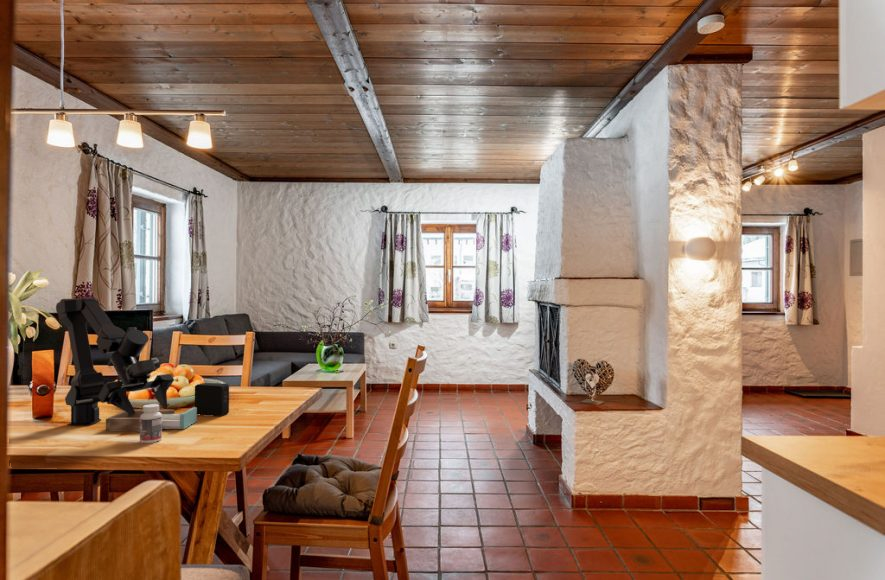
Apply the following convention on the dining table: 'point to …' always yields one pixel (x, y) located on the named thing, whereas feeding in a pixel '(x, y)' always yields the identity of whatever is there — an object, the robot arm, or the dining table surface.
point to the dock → (128, 421)
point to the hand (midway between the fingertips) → (150, 411)
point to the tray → (179, 419)
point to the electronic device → (212, 399)
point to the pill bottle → (150, 424)
